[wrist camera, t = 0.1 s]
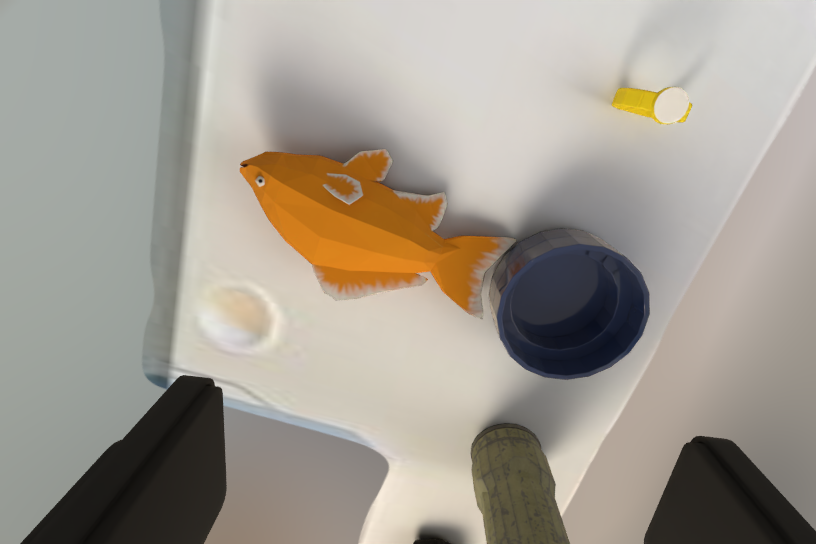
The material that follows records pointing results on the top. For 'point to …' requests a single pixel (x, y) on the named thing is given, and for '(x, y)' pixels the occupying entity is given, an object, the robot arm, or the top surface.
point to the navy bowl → (568, 304)
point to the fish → (367, 227)
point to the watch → (655, 103)
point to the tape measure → (431, 541)
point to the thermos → (515, 488)
